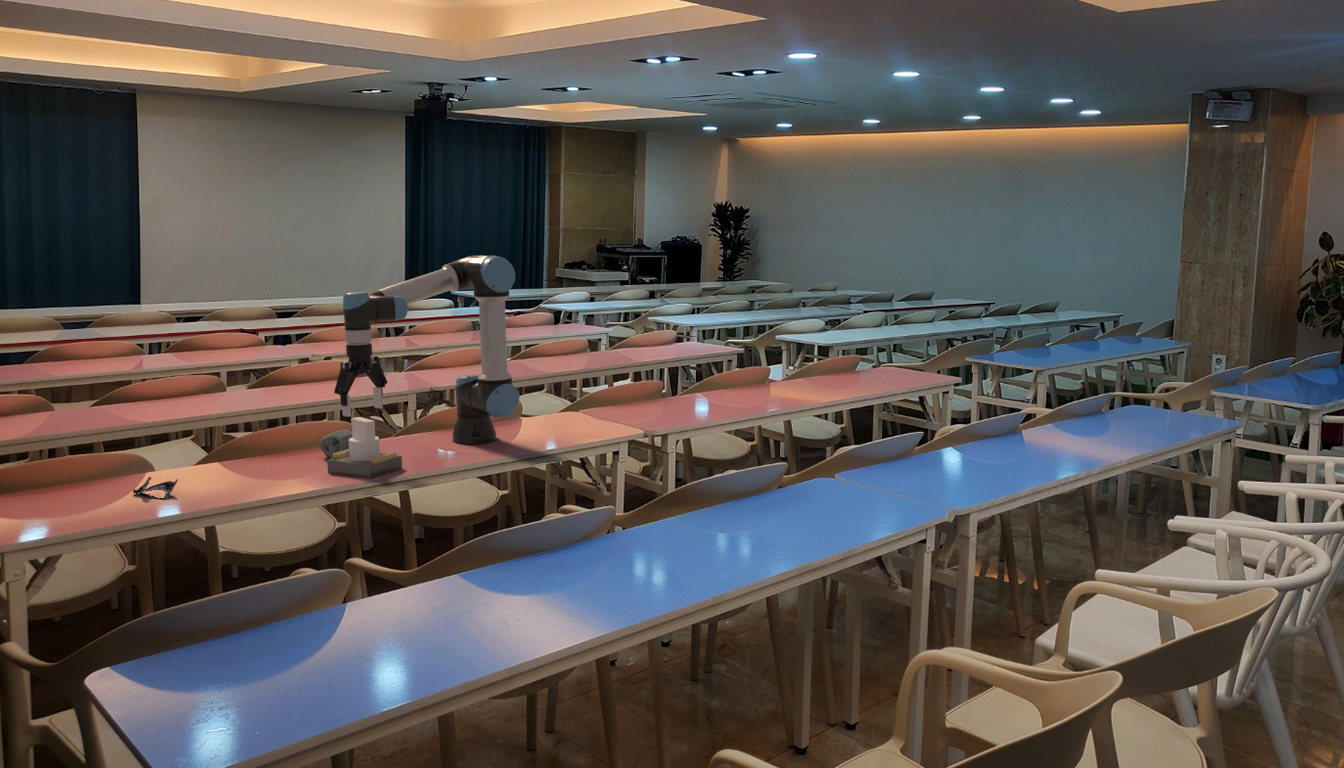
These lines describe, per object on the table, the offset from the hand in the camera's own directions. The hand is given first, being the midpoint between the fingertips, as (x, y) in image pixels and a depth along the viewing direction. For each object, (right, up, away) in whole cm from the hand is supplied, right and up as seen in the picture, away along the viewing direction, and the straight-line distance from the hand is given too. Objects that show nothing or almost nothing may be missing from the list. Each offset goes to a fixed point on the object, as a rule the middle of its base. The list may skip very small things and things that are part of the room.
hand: (363, 412), depth 304 cm
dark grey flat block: (0, -18, +3) cm, 18 cm away
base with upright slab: (0, -14, +2) cm, 15 cm away
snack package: (-51, -23, -24) cm, 61 cm away
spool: (-15, -15, +23) cm, 31 cm away
